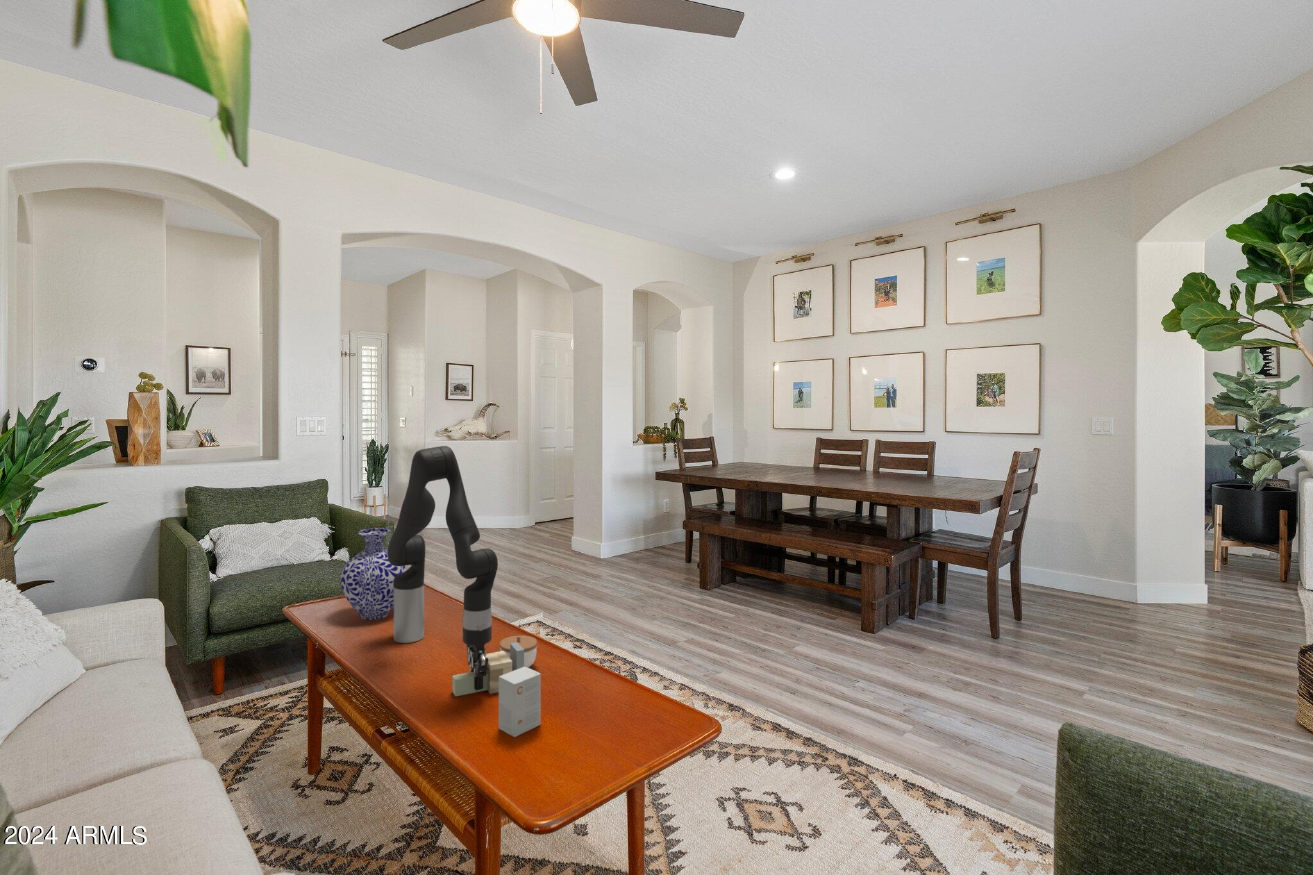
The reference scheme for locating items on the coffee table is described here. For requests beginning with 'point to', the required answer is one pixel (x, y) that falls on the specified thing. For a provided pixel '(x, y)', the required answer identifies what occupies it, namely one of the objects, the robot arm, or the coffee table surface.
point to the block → (497, 669)
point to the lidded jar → (526, 643)
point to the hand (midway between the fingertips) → (476, 685)
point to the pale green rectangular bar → (467, 683)
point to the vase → (370, 577)
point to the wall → (516, 656)
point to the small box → (519, 701)
